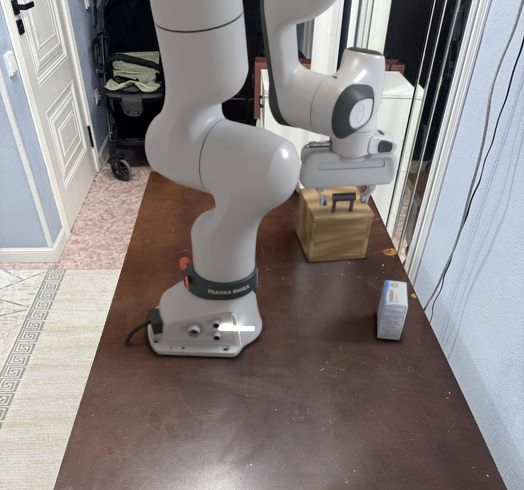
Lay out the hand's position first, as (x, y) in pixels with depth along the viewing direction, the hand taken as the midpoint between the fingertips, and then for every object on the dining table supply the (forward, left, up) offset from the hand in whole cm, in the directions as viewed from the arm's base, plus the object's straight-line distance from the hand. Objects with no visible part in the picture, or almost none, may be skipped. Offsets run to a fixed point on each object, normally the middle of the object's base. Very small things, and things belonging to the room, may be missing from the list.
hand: (343, 203), depth 109 cm
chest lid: (0, +5, -3) cm, 6 cm away
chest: (0, +5, -14) cm, 15 cm away
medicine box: (+3, -27, -14) cm, 30 cm away
